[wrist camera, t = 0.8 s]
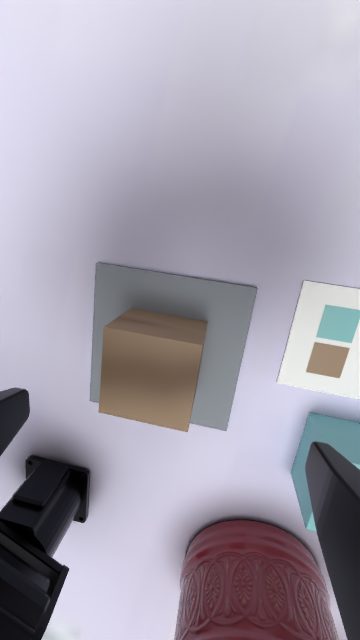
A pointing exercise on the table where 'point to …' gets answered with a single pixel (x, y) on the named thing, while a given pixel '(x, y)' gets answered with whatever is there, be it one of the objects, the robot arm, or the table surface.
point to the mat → (190, 302)
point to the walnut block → (151, 367)
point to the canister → (251, 587)
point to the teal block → (341, 434)
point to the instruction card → (324, 341)
